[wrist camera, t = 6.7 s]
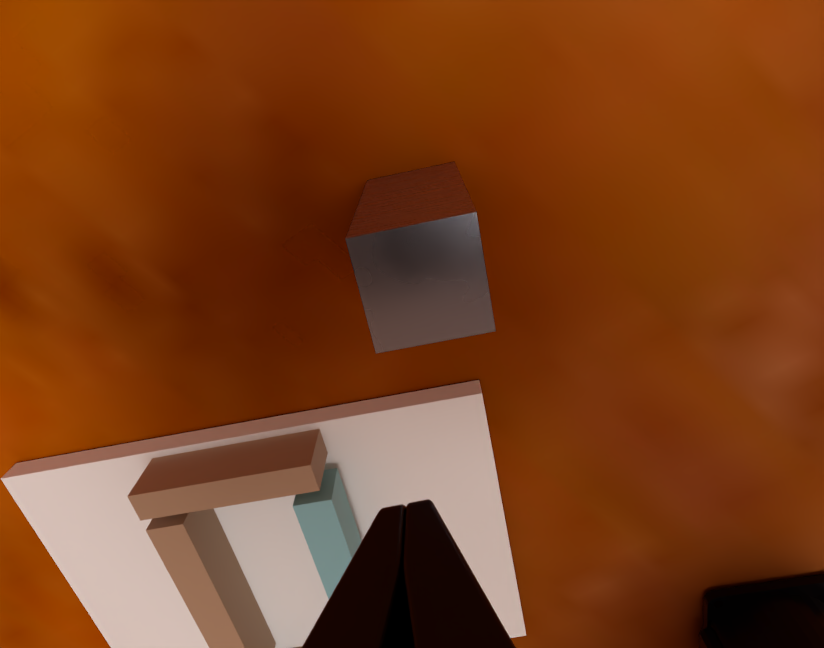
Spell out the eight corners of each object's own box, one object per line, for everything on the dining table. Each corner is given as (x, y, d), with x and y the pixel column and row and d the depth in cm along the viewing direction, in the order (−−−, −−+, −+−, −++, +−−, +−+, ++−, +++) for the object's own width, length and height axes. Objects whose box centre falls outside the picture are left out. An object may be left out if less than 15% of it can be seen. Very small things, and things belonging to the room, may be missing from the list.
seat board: (479, 379, 22) (489, 427, 19) (522, 617, 28) (535, 680, 25) (16, 463, 24) (-39, 518, 21) (146, 670, 30) (118, 736, 27)
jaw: (337, 467, 22) (331, 499, 21) (392, 633, 27) (391, 671, 25) (301, 473, 23) (292, 506, 21) (361, 638, 27) (358, 675, 25)
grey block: (454, 161, 19) (476, 211, 12) (468, 246, 20) (495, 331, 14) (367, 180, 19) (345, 238, 13) (386, 262, 20) (376, 353, 14)
